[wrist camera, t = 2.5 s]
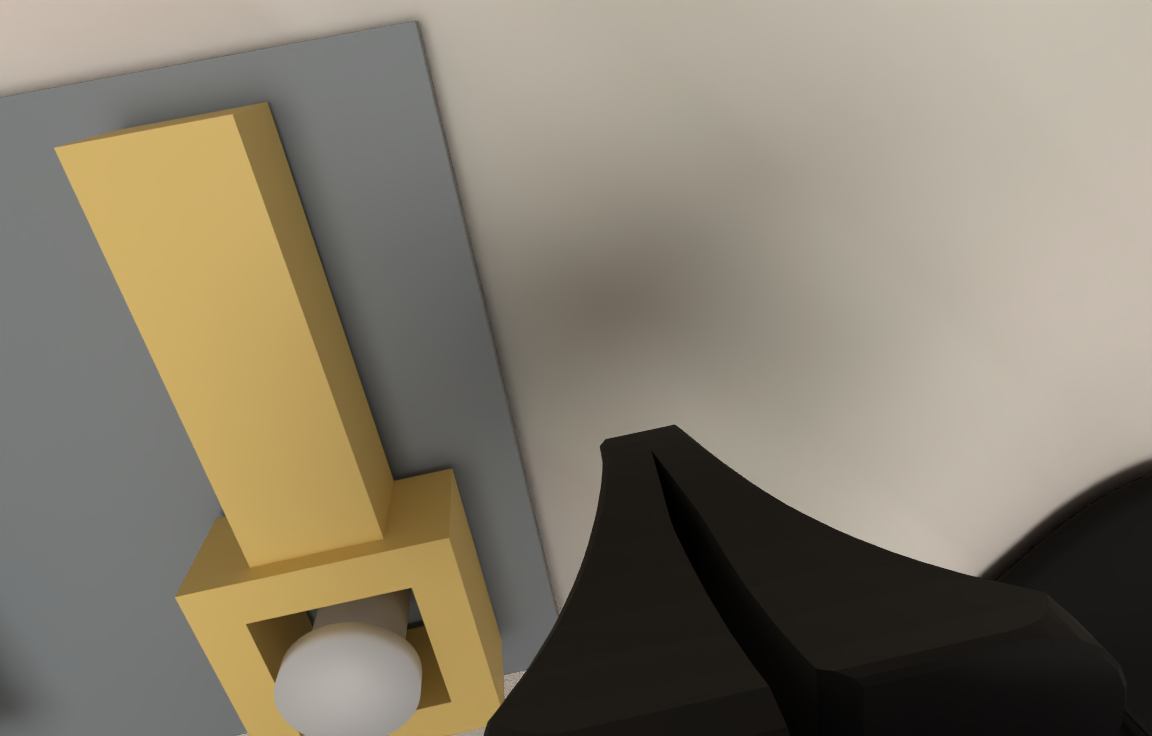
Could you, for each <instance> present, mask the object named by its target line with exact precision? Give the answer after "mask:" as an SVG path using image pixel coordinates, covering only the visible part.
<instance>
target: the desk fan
mask: <svg viewBox="0 0 1152 736" xmlns="http://www.w3.org/2000/svg"><path fill="white" fill-rule="evenodd" d="M996 581H997V582H1001V583H1006V584H1011V585H1015V586H1020V587H1024V588H1029V589H1033V590H1038V591H1042V592H1045V593H1046V594H1047V595H1049V596H1050V597H1051V598H1052V599H1053V600H1054V601H1056V602H1057V603H1058V604H1059V605H1060V606H1061V607H1062V608H1064V609H1065V610H1066V611H1067V612H1068V613H1069V614H1070V615H1072V616H1073V617H1074V618H1075V619H1076V620H1077V621H1078V622H1079V623H1080V624H1081V625H1082V626H1083V627H1084V628H1085V629H1086V630H1087V631H1088V632H1089V633H1090V634H1091V635H1092V636H1093V637H1094V638H1095V640H1096V641H1097V642H1098V643H1099V644H1100V645H1101V646H1102V647H1103V648H1104V649H1105V650H1106V651H1107V652H1108V653H1109V654H1110V655H1111V656H1112V657H1113V658H1114V659H1115V660H1116V661H1117V662H1118V663H1119V664H1120V666H1121V669H1122V672H1123V674H1124V677H1125V680H1126V682H1127V685H1126V702H1125V710H1124V715H1123V719H1122V723H1121V727H1120V731H1119V735H1118V736H1152V474H1150V475H1147V476H1145V477H1142V478H1140V479H1137V480H1135V481H1133V482H1131V483H1129V484H1127V485H1125V486H1123V487H1121V488H1119V489H1117V490H1115V491H1113V492H1111V493H1109V494H1108V495H1106V496H1104V497H1103V498H1101V499H1099V500H1098V501H1096V502H1094V503H1093V504H1091V505H1089V506H1088V507H1086V508H1085V509H1083V510H1082V511H1080V512H1079V513H1078V514H1076V515H1075V516H1073V517H1072V518H1070V519H1069V520H1067V521H1066V522H1065V523H1063V524H1062V525H1061V526H1060V527H1058V528H1057V529H1056V530H1055V531H1054V532H1052V533H1051V534H1050V535H1049V536H1047V537H1046V538H1045V539H1044V540H1042V541H1041V542H1040V543H1039V544H1038V545H1037V546H1036V547H1034V548H1033V549H1032V550H1031V551H1030V552H1029V553H1027V554H1026V555H1025V556H1024V557H1023V558H1022V559H1021V560H1019V561H1018V562H1017V563H1016V564H1015V565H1014V566H1012V567H1011V568H1010V569H1009V570H1008V571H1007V572H1006V573H1004V574H1003V575H1002V576H1001V577H1000V578H999V579H997V580H996Z"/></svg>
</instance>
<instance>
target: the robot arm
mask: <svg viewBox="0 0 1152 736" xmlns="http://www.w3.org/2000/svg"><path fill="white" fill-rule="evenodd" d="M600 450H601V456H602V461H603V469H602V483H601V489H600V496H599V502H598V508H597V513H596V517H595V521H594V525H593V528H592V532H591V536H590V540H589V543H588V547H587V550H586V553H585V556H584V559H583V562H582V564H581V567H580V570H579V572H578V575H577V577H576V580H575V582H574V585H573V587H572V589H571V592H570V594H569V596H568V598H567V600H566V602H565V604H564V607H563V609H562V611H561V613H560V615H559V617H558V619H557V621H556V623H555V624H554V626H553V628H552V630H551V632H550V633H549V635H548V637H547V638H546V640H545V642H544V643H543V645H542V646H541V648H540V650H539V651H538V653H537V655H536V656H535V658H534V659H533V661H532V663H531V664H530V666H529V668H528V669H527V671H526V672H525V673H524V675H523V676H522V678H521V679H520V681H519V682H518V683H517V684H516V686H515V687H514V688H513V690H512V691H511V692H510V694H509V695H508V696H507V698H506V699H505V700H504V701H503V703H502V704H501V705H500V707H499V708H498V709H497V711H496V712H495V713H494V714H493V716H492V717H491V718H490V719H489V721H488V722H487V725H486V729H485V732H484V736H1118V735H1119V731H1120V727H1121V723H1122V719H1123V715H1124V710H1125V702H1126V685H1127V682H1126V680H1125V677H1124V674H1123V672H1122V669H1121V666H1120V664H1119V663H1118V662H1117V661H1116V660H1115V659H1114V658H1113V657H1112V656H1111V655H1110V654H1109V653H1108V652H1107V651H1106V650H1105V649H1104V648H1103V647H1102V646H1101V645H1100V644H1099V643H1098V642H1097V641H1096V640H1095V638H1094V637H1093V636H1092V635H1091V634H1090V633H1089V632H1088V631H1087V630H1086V629H1085V628H1084V627H1083V626H1082V625H1081V624H1080V623H1079V622H1078V621H1077V620H1076V619H1075V618H1074V617H1073V616H1072V615H1070V614H1069V613H1068V612H1067V611H1066V610H1065V609H1064V608H1062V607H1061V606H1060V605H1059V604H1058V603H1057V602H1056V601H1054V600H1053V599H1052V598H1051V597H1050V596H1049V595H1047V594H1046V593H1045V592H1042V591H1038V590H1033V589H1029V588H1024V587H1020V586H1015V585H1011V584H1006V583H1001V582H997V581H992V580H988V579H983V578H979V577H974V576H970V575H966V574H962V573H958V572H955V571H952V570H948V569H945V568H941V567H938V566H934V565H931V564H927V563H924V562H921V561H918V560H915V559H912V558H909V557H906V556H903V555H900V554H897V553H894V552H891V551H888V550H886V549H883V548H880V547H878V546H875V545H873V544H870V543H867V542H865V541H862V540H860V539H857V538H854V537H852V536H850V535H848V534H845V533H843V532H841V531H838V530H836V529H834V528H832V527H830V526H828V525H826V524H824V523H821V522H819V521H817V520H815V519H813V518H811V517H809V516H807V515H805V514H803V513H801V512H799V511H797V510H796V509H794V508H792V507H790V506H788V505H786V504H785V503H783V502H781V501H780V500H778V499H776V498H775V497H773V496H771V495H770V494H768V493H766V492H765V491H763V490H762V489H760V488H759V487H757V486H756V485H754V484H753V483H751V482H750V481H748V480H747V479H745V478H744V477H743V476H741V475H740V474H738V473H737V472H735V471H734V470H733V469H731V468H730V467H728V466H727V465H726V464H724V463H723V462H722V461H720V460H719V459H718V458H716V457H715V456H714V455H713V454H711V453H710V452H709V451H707V450H706V449H705V448H704V447H702V446H701V445H700V444H699V443H697V442H696V441H695V440H694V439H692V438H691V437H690V436H689V435H688V434H686V433H685V432H684V431H683V430H682V429H680V428H679V427H677V426H676V425H671V426H666V427H661V428H657V429H652V430H647V431H643V432H638V433H633V434H628V435H624V436H619V437H614V438H609V439H605V441H604V442H603V443H602V444H601V446H600Z"/></svg>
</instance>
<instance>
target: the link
mask: <svg viewBox="0 0 1152 736" xmlns="http://www.w3.org/2000/svg"><path fill="white" fill-rule="evenodd" d="M54 149H55V151H56V154H57V156H58V158H59V160H60V162H61V164H62V166H63V168H64V171H65V173H66V175H67V177H68V179H69V181H70V183H71V186H72V188H73V190H74V192H75V194H76V196H77V198H78V201H79V203H80V205H81V207H82V209H83V211H84V213H85V216H86V218H87V220H88V222H89V224H90V226H91V228H92V231H93V233H94V235H95V237H96V239H97V241H98V243H99V246H100V248H101V250H102V252H103V254H104V256H105V258H106V261H107V263H108V265H109V267H110V269H111V271H112V273H113V275H114V278H115V280H116V282H117V284H118V286H119V288H120V290H121V293H122V295H123V297H124V299H125V301H126V303H127V305H128V308H129V310H130V312H131V314H132V316H133V318H134V320H135V323H136V325H137V327H138V329H139V331H140V333H141V335H142V338H143V340H144V342H145V344H146V346H147V348H148V350H149V353H150V355H151V357H152V359H153V361H154V363H155V365H156V368H157V370H158V372H159V374H160V376H161V378H162V380H163V382H164V385H165V387H166V389H167V391H168V393H169V395H170V397H171V400H172V402H173V404H174V406H175V408H176V410H177V412H178V415H179V417H180V419H181V421H182V423H183V425H184V427H185V430H186V432H187V434H188V436H189V438H190V440H191V442H192V445H193V447H194V449H195V451H196V453H197V455H198V457H199V460H200V462H201V464H202V466H203V468H204V470H205V472H206V475H207V477H208V479H209V481H210V483H211V485H212V487H213V489H214V492H215V494H216V496H217V498H218V500H219V502H220V504H221V507H222V509H223V511H224V513H225V515H226V517H221V518H216V520H215V521H214V523H213V525H212V527H211V529H210V531H209V533H208V535H207V537H206V539H205V541H204V542H203V544H202V546H201V548H200V550H199V552H198V554H197V556H196V558H195V560H194V562H193V563H192V565H191V567H190V569H189V571H188V573H187V575H186V577H185V579H184V581H183V582H182V584H181V586H180V588H179V590H178V592H177V594H176V596H175V599H176V600H177V602H178V604H179V606H180V608H181V610H182V612H183V613H184V615H185V617H186V619H187V621H188V623H189V625H190V626H191V628H192V630H193V632H194V634H195V636H196V638H197V639H198V641H199V643H200V645H201V647H202V649H203V651H204V653H205V654H206V656H207V658H208V660H209V662H210V664H211V666H212V667H213V669H214V671H215V673H216V675H217V677H218V679H219V680H220V682H221V684H222V686H223V688H224V690H225V692H226V693H227V695H228V697H229V699H230V701H231V703H232V705H233V706H234V708H235V710H236V712H237V714H238V716H239V718H240V719H241V721H242V723H243V725H244V727H245V729H246V731H247V732H248V734H249V736H306V735H304V734H302V733H300V732H298V731H297V730H295V729H294V728H292V727H291V726H290V725H289V724H288V723H287V722H286V721H285V720H284V719H283V718H282V716H281V715H280V713H279V711H278V709H277V707H276V704H275V700H274V687H275V682H276V679H277V676H278V672H279V669H280V666H281V663H282V660H283V657H284V655H285V654H286V652H287V650H288V649H289V648H290V647H291V645H292V644H293V643H295V642H296V641H297V640H298V639H299V638H301V637H302V636H303V635H305V634H307V633H309V632H310V631H312V629H313V627H312V625H311V622H310V620H309V618H308V615H307V613H306V611H308V610H312V609H317V608H321V607H326V606H330V605H335V604H340V603H344V602H349V601H353V600H358V599H362V598H367V597H372V596H376V595H381V594H385V593H390V592H394V591H399V590H403V589H408V588H412V590H413V593H414V596H415V598H416V601H417V604H418V607H419V610H420V613H421V616H422V619H423V621H424V624H425V626H422V627H418V628H413V629H409V630H407V632H406V640H407V641H408V642H409V643H410V644H411V645H412V647H413V648H414V649H415V651H416V652H417V654H418V656H419V658H420V661H421V665H422V682H421V694H420V701H419V704H418V707H417V709H416V711H415V712H414V714H413V715H412V717H411V718H410V719H409V720H408V721H407V722H406V723H405V724H404V725H403V726H402V727H400V728H399V729H397V730H396V731H394V732H393V733H391V734H389V735H387V736H449V735H453V734H458V733H462V732H466V731H471V730H475V729H479V728H484V727H486V725H487V722H488V721H489V719H490V718H491V717H492V716H493V714H494V713H495V712H496V711H497V709H498V708H499V707H500V705H501V704H502V703H503V701H504V679H503V658H502V639H501V636H500V632H499V629H498V625H497V622H496V618H495V615H494V611H493V608H492V604H491V601H490V598H489V594H488V591H487V587H486V584H485V580H484V577H483V573H482V570H481V566H480V563H479V559H478V556H477V552H476V549H475V546H474V542H473V539H472V535H471V532H470V528H469V525H468V521H467V518H466V514H465V511H464V507H463V504H462V500H461V497H460V494H459V490H458V487H457V483H456V480H455V476H454V473H453V469H447V470H442V471H438V472H433V473H428V474H424V475H419V476H414V477H409V478H405V479H400V480H395V481H394V480H393V477H392V474H391V471H390V468H389V465H388V462H387V459H386V456H385V453H384V450H383V447H382V444H381V441H380V438H379V435H378V432H377V429H376V426H375V423H374V420H373V417H372V414H371V411H370V408H369V405H368V402H367V399H366V396H365V393H364V390H363V387H362V384H361V381H360V378H359V375H358V372H357V369H356V366H355V363H354V360H353V357H352V354H351V351H350V348H349V345H348V342H347V339H346V336H345V333H344V330H343V327H342V324H341V321H340V318H339V315H338V312H337V309H336V306H335V303H334V300H333V297H332V294H331V291H330V288H329V285H328V282H327V279H326V276H325V273H324V270H323V267H322V264H321V261H320V258H319V255H318V252H317V249H316V246H315V243H314V240H313V237H312V234H311V231H310V228H309V225H308V222H307V219H306V216H305V213H304V210H303V207H302V204H301V201H300V198H299V195H298V192H297V189H296V186H295V183H294V180H293V177H292V174H291V171H290V168H289V165H288V162H287V159H286V156H285V153H284V150H283V147H282V144H281V141H280V138H279V135H278V132H277V129H276V126H275V123H274V120H273V117H272V114H271V111H270V108H269V105H268V102H263V103H258V104H253V105H247V106H242V107H237V108H231V109H226V110H221V111H216V112H210V113H205V114H200V115H194V116H189V117H184V118H178V119H173V120H168V121H162V122H157V123H152V124H146V125H141V126H136V127H130V128H125V129H120V130H115V131H111V132H108V133H104V134H101V135H97V136H94V137H90V138H87V139H83V140H80V141H76V142H73V143H69V144H66V145H62V146H59V147H55V148H54Z"/></svg>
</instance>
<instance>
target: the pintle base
mask: <svg viewBox="0 0 1152 736" xmlns="http://www.w3.org/2000/svg"><path fill="white" fill-rule="evenodd" d="M263 102H268V105H269V108H270V111H271V114H272V117H273V120H274V123H275V126H276V129H277V132H278V135H279V138H280V141H281V144H282V147H283V150H284V153H285V156H286V159H287V162H288V165H289V168H290V171H291V174H292V177H293V180H294V183H295V186H296V189H297V192H298V195H299V198H300V201H301V204H302V207H303V210H304V213H305V216H306V219H307V222H308V225H309V228H310V231H311V234H312V237H313V240H314V243H315V246H316V249H317V252H318V255H319V258H320V261H321V264H322V267H323V270H324V273H325V276H326V279H327V282H328V285H329V288H330V291H331V294H332V297H333V300H334V303H335V306H336V309H337V312H338V315H339V318H340V321H341V324H342V327H343V330H344V333H345V336H346V339H347V342H348V345H349V348H350V351H351V354H352V357H353V360H354V363H355V366H356V369H357V372H358V375H359V378H360V381H361V384H362V387H363V390H364V393H365V396H366V399H367V402H368V405H369V408H370V411H371V414H372V417H373V420H374V423H375V426H376V429H377V432H378V435H379V438H380V441H381V444H382V447H383V450H384V453H385V456H386V459H387V462H388V465H389V468H390V471H391V474H392V477H393V480H394V481H395V480H400V479H405V478H409V477H414V476H419V475H424V474H428V473H433V472H438V471H442V470H447V469H453V473H454V476H455V480H456V483H457V487H458V490H459V494H460V497H461V500H462V504H463V507H464V511H465V514H466V518H467V521H468V525H469V528H470V532H471V535H472V539H473V542H474V546H475V549H476V552H477V556H478V559H479V563H480V566H481V570H482V573H483V577H484V580H485V584H486V587H487V591H488V594H489V598H490V601H491V604H492V608H493V611H494V615H495V618H496V622H497V625H498V629H499V632H500V636H501V639H502V658H503V675H506V674H510V673H515V672H519V671H524V670H527V669H528V668H529V666H530V664H531V663H532V661H533V659H534V658H535V656H536V655H537V653H538V651H539V650H540V648H541V646H542V645H543V643H544V642H545V640H546V638H547V637H548V635H549V633H550V632H551V630H552V628H553V626H554V624H555V623H556V621H557V619H558V617H559V614H558V610H557V606H556V602H555V598H554V593H553V589H552V585H551V581H550V576H549V572H548V568H547V564H546V560H545V555H544V551H543V547H542V543H541V538H540V534H539V530H538V526H537V522H536V517H535V513H534V509H533V505H532V500H531V496H530V492H529V488H528V484H527V479H526V475H525V471H524V467H523V462H522V458H521V454H520V450H519V446H518V441H517V437H516V433H515V429H514V424H513V420H512V416H511V412H510V408H509V403H508V399H507V395H506V391H505V386H504V382H503V378H502V374H501V370H500V365H499V361H498V357H497V353H496V349H495V344H494V340H493V336H492V332H491V327H490V323H489V319H488V315H487V311H486V306H485V302H484V298H483V294H482V289H481V285H480V281H479V277H478V273H477V268H476V264H475V260H474V256H473V251H472V247H471V243H470V239H469V235H468V230H467V226H466V222H465V218H464V213H463V209H462V205H461V201H460V197H459V192H458V188H457V184H456V180H455V175H454V171H453V167H452V163H451V159H450V154H449V150H448V146H447V142H446V137H445V133H444V129H443V125H442V121H441V116H440V112H439V108H438V104H437V100H436V95H435V91H434V87H433V83H432V78H431V74H430V70H429V66H428V62H427V57H426V53H425V49H424V45H423V40H422V36H421V32H420V28H419V24H418V21H412V22H406V23H401V24H396V25H390V26H385V27H379V28H374V29H369V30H363V31H358V32H352V33H347V34H341V35H336V36H331V37H325V38H320V39H314V40H309V41H304V42H298V43H293V44H287V45H282V46H277V47H271V48H266V49H260V50H255V51H250V52H244V53H239V54H233V55H228V56H223V57H217V58H212V59H206V60H201V61H195V62H190V63H185V64H179V65H174V66H168V67H163V68H158V69H152V70H147V71H141V72H136V73H131V74H125V75H120V76H114V77H109V78H104V79H98V80H93V81H87V82H82V83H77V84H71V85H66V86H60V87H55V88H49V89H44V90H39V91H33V92H28V93H22V94H17V95H12V96H6V97H1V98H0V736H236V735H240V734H245V733H248V732H247V731H246V729H245V727H244V725H243V723H242V721H241V719H240V718H239V716H238V714H237V712H236V710H235V708H234V706H233V705H232V703H231V701H230V699H229V697H228V695H227V693H226V692H225V690H224V688H223V686H222V684H221V682H220V680H219V679H218V677H217V675H216V673H215V671H214V669H213V667H212V666H211V664H210V662H209V660H208V658H207V656H206V654H205V653H204V651H203V649H202V647H201V645H200V643H199V641H198V639H197V638H196V636H195V634H194V632H193V630H192V628H191V626H190V625H189V623H188V621H187V619H186V617H185V615H184V613H183V612H182V610H181V608H180V606H179V604H178V602H177V600H176V599H175V596H176V594H177V592H178V590H179V588H180V586H181V584H182V582H183V581H184V579H185V577H186V575H187V573H188V571H189V569H190V567H191V565H192V563H193V562H194V560H195V558H196V556H197V554H198V552H199V550H200V548H201V546H202V544H203V542H204V541H205V539H206V537H207V535H208V533H209V531H210V529H211V527H212V525H213V523H214V521H215V520H216V518H221V517H226V515H225V513H224V511H223V509H222V507H221V504H220V502H219V500H218V498H217V496H216V494H215V492H214V489H213V487H212V485H211V483H210V481H209V479H208V477H207V475H206V472H205V470H204V468H203V466H202V464H201V462H200V460H199V457H198V455H197V453H196V451H195V449H194V447H193V445H192V442H191V440H190V438H189V436H188V434H187V432H186V430H185V427H184V425H183V423H182V421H181V419H180V417H179V415H178V412H177V410H176V408H175V406H174V404H173V402H172V400H171V397H170V395H169V393H168V391H167V389H166V387H165V385H164V382H163V380H162V378H161V376H160V374H159V372H158V370H157V368H156V365H155V363H154V361H153V359H152V357H151V355H150V353H149V350H148V348H147V346H146V344H145V342H144V340H143V338H142V335H141V333H140V331H139V329H138V327H137V325H136V323H135V320H134V318H133V316H132V314H131V312H130V310H129V308H128V305H127V303H126V301H125V299H124V297H123V295H122V293H121V290H120V288H119V286H118V284H117V282H116V280H115V278H114V275H113V273H112V271H111V269H110V267H109V265H108V263H107V261H106V258H105V256H104V254H103V252H102V250H101V248H100V246H99V243H98V241H97V239H96V237H95V235H94V233H93V231H92V228H91V226H90V224H89V222H88V220H87V218H86V216H85V213H84V211H83V209H82V207H81V205H80V203H79V201H78V198H77V196H76V194H75V192H74V190H73V188H72V186H71V183H70V181H69V179H68V177H67V175H66V173H65V171H64V168H63V166H62V164H61V162H60V160H59V158H58V156H57V154H56V151H55V149H54V148H55V147H59V146H62V145H66V144H69V143H73V142H76V141H80V140H83V139H87V138H90V137H94V136H97V135H101V134H104V133H108V132H111V131H115V130H120V129H125V128H130V127H136V126H141V125H146V124H152V123H157V122H162V121H168V120H173V119H178V118H184V117H189V116H194V115H200V114H205V113H210V112H216V111H221V110H226V109H231V108H237V107H242V106H247V105H253V104H258V103H263ZM306 613H307V615H308V618H309V620H310V622H311V625H312V627H313V629H312V631H310V632H309V633H307V634H305V635H303V636H302V637H301V638H299V639H298V640H297V641H296V642H295V643H293V644H292V645H291V647H290V648H289V649H288V650H287V652H286V654H285V655H284V657H283V660H282V663H281V666H280V669H279V672H278V676H277V679H276V682H275V687H274V700H275V704H276V707H277V709H278V711H279V713H280V715H281V716H282V718H283V719H284V720H285V721H286V722H287V723H288V724H289V725H290V726H291V727H292V728H294V729H295V730H297V731H298V732H300V733H302V734H304V735H306V736H387V735H389V734H391V733H393V732H394V731H396V730H397V729H399V728H400V727H402V726H403V725H404V724H405V723H406V722H407V721H408V720H409V719H410V718H411V717H412V715H413V714H414V712H415V711H416V709H417V707H418V704H419V701H420V694H421V682H422V665H421V661H420V658H419V656H418V654H417V652H416V651H415V649H414V648H413V647H412V645H411V644H410V643H409V642H408V641H407V640H406V632H407V630H409V629H413V628H418V627H422V626H425V624H424V621H423V619H422V616H421V613H420V610H419V607H418V604H417V601H416V598H415V596H414V593H413V590H412V588H408V589H403V590H399V591H394V592H390V593H385V594H381V595H376V596H372V597H367V598H362V599H358V600H353V601H349V602H344V603H340V604H335V605H330V606H326V607H321V608H317V609H312V610H308V611H306Z"/></svg>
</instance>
